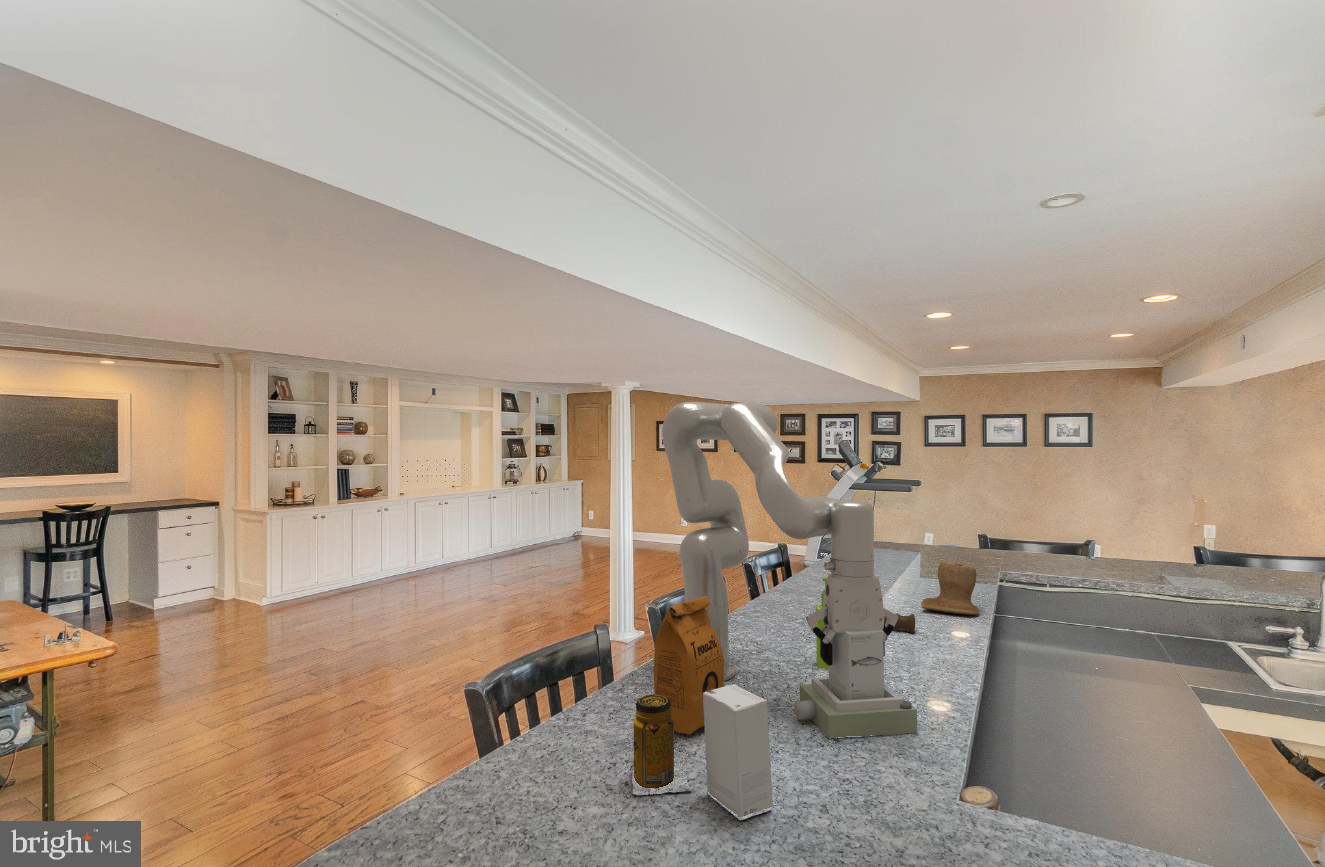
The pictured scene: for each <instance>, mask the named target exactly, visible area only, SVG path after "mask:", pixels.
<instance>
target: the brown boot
mask: <svg viewBox="0 0 1325 867" xmlns="http://www.w3.org/2000/svg"><path fill="white" fill-rule="evenodd" d="M937 577H938V578H937V579H938V585H939V595H938V596H937V597H926V598H924V599H923V600H922V601H921V603H920V607H921V608H922V609H923V610H928V611H933V612H939V613H947V614H957V615H977V614H979V613H980V608H979V607H977V606H976V605H974V604H973V603H972V595H973V591H974V589H975V587H976V583H977V568H976V567H975V566H973V565H971V564H964V563H958V562H957V563H956V562H951V561H945V560H944V561H942V560H941V561H940V562H939V564H938V566H937Z"/></svg>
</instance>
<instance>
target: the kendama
mask: <svg viewBox="0 0 1325 867" xmlns="http://www.w3.org/2000/svg"><path fill="white" fill-rule="evenodd" d="M895 614H896V615H898V620H897V622H896V624H895V626H894V629H895V630H896V631H899V630H905V631H907V632H909V633H910V634H914V633H915V631H916V616H915V614H913V613H910V615H902V614H901V615H900V614H899V613H895ZM886 620H887V617H886V616H884V624H885V623H886Z"/></svg>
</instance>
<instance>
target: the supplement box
mask: <svg viewBox="0 0 1325 867" xmlns="http://www.w3.org/2000/svg"><path fill="white" fill-rule="evenodd" d="M830 643H832V645H833V664H832V665H831V666H829V670H828V677H829V690H830V691H831V692H832V693H833V694H835V695H836V696H837V697H838V698H840V699H841V700H842V701H844V700H860V699H875V698H884V684H885V673H884V672H885V667H884V666H885V660H884V659H885V656H884V646H883V645H884V644H883V631H882V630H870V631H848V632H845V633H844V634H837V633H836V634H835V635H834V636H833V638H832V639H831V640H830Z"/></svg>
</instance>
